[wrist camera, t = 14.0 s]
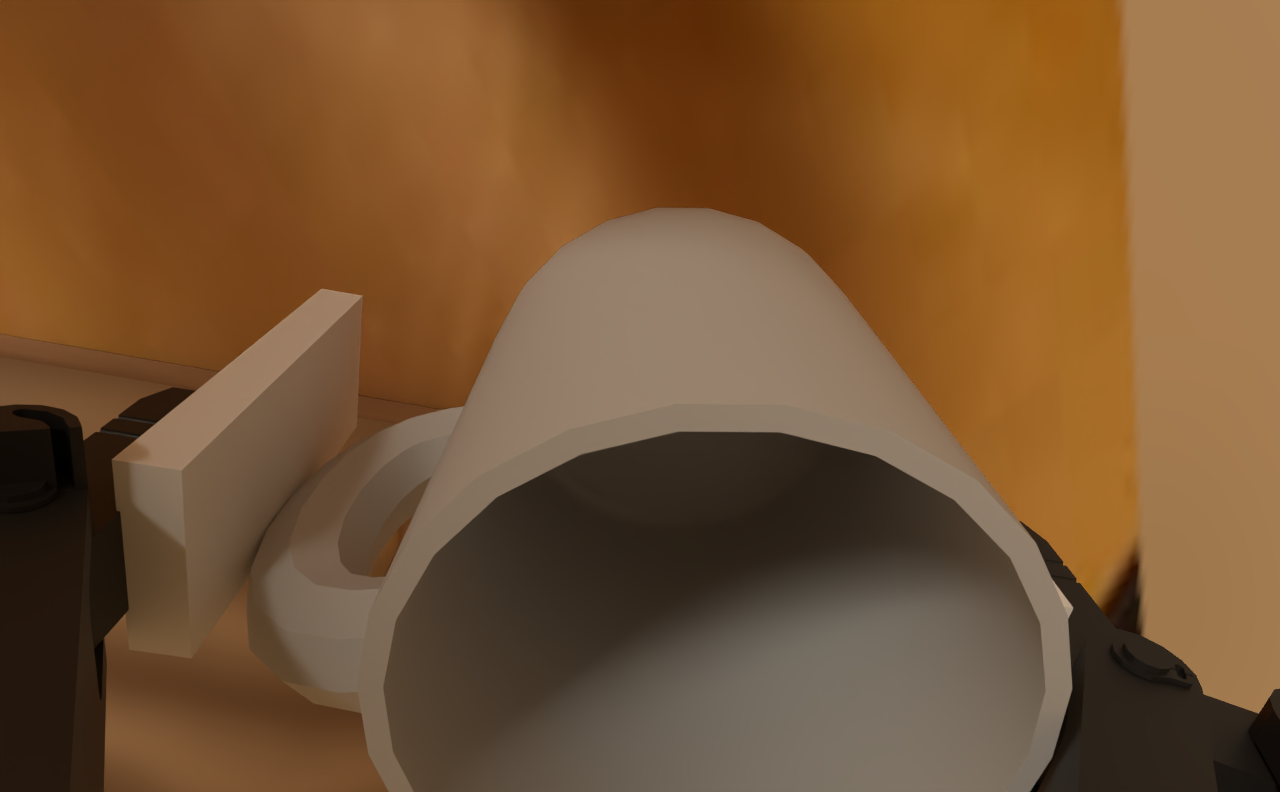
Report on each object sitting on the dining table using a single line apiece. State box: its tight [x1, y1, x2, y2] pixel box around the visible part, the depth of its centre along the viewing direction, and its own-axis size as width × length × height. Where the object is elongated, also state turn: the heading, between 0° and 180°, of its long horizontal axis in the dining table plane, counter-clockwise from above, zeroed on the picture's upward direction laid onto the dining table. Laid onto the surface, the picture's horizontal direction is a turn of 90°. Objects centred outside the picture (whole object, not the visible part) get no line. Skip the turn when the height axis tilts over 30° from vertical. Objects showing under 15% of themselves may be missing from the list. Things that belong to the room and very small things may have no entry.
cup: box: [246, 208, 1072, 792], centre depth 13 cm, size 7×10×9 cm
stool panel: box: [0, 334, 440, 792], centre depth 27 cm, size 24×25×6 cm
